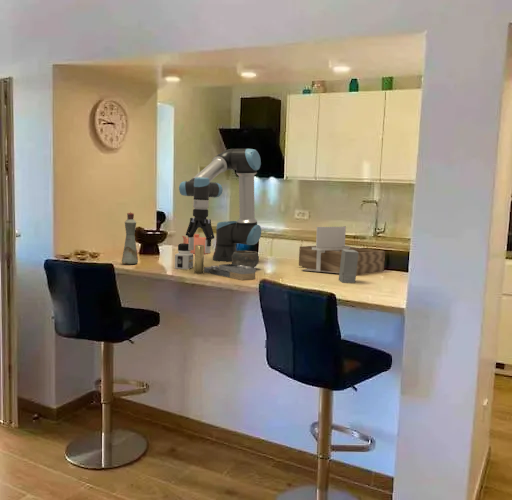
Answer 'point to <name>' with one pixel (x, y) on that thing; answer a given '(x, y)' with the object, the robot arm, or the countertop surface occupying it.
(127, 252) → the bottle
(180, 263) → the container
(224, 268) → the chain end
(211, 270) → the chain end
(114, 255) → the countertop surface
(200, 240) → the teapot
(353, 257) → the skincare box
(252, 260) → the bowl
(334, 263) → the holder caddy
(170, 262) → the countertop surface
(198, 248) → the pin
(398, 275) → the countertop surface
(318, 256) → the white panel on stand
